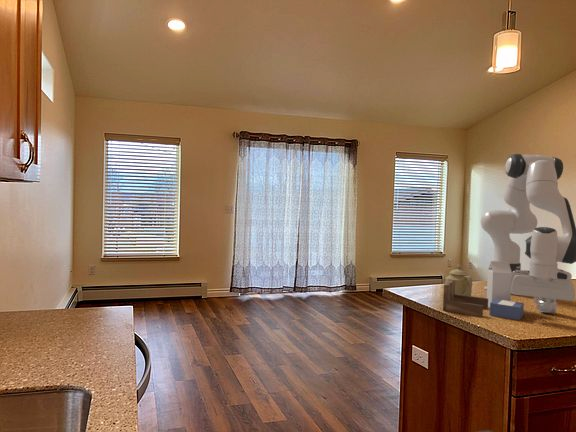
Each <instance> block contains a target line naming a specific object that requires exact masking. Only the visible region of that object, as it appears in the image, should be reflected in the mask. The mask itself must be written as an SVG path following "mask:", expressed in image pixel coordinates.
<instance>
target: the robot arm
mask: <svg viewBox="0 0 576 432" xmlns="http://www.w3.org/2000/svg"><path fill="white" fill-rule="evenodd" d="M504 167H505V168H504V169H505V174H506V175H507V176H508V177H509V179H508V181H507V185H506V187H505V190H504V194H503V200H504V202H505V203H506V204H507V205H509V206H510V207H511V208H510V210H503V209H502V210H500V209H499V210H496V209H495V210H489V211H485V212H484V213H483V215H482V216H481V217H480V226H481V228H482V230H483V231H485V232H486V233H487V234H488V235H489V236H490V238H491V240H492V243H493V247H494V248H493V249H494V253H493V254H494V255H493V256H494V258H493V259H494V260H493V261H501V262H510V264H509V265H510V268H511V271H512V273H511V280H512V284H511V295H517V296H525V297H533V301H534V302H535V304H536V310H538V311H539V310H546V306H547V305H548V303H549V302H550V299H556V300H558V301H567V302H573V301H575V300H576V291H575V285H574V282H573V281H572V277H573V276H572V273H571V272H569V271H566V270H564V269H561V268H558V265H559V264H558V263H564V264H569V265H573V264H574V263H576V222H575V219H574V218H575V217H574V215H573V211H572V208H571V205H570V202H569V199H568V198H567V197H564V196H563V195H562V194H561V192H560V191H559V188H558V186H559V185H558V183H559V182H558V180H559V179H560V178H561V177H562V175H563V172H564V162H563V161H562V159H560V158H558V157H555V156H548V155H541V154H521V153H514V154H511V155H510V156H509V157H507V160H506V162H505V165H504ZM530 205H532V206H534V207H535V208H538V209H540V210H543V211H547V212H549V213H552V214H553V215H555V216H556V217H558V218H559V221H560V224H561V228H562V233H563V236H562V235H561V236H559V235H558V231H557V230H556V229H555V228H553V227H547V226H539V227H538V218H537V216H536V215H535V214H534V213H533V212H532V210H531V207H530ZM528 233H532V234H531V236H529V237H527V238H526V240H524V241H525V252H524V254H525V256H527V257H528V258H529V259H530V260H529V270H525V269H524V270H523V269H522V270H521V268H522V265H521V247H520V244H518V243H517V242H515V241H513V240H512V239H511V236H510V234H512V235H513V234H515V235H516V234H517V235H518V234H520V235H521V234H528ZM483 289H484V290H487V285H485V286H484V287H483ZM539 297H541V298H546V300H545V301H547V302H546V303H545V304H544V305H543V304H539V303H538V301H539Z"/></svg>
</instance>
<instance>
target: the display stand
mask: <svg viewBox="0 0 576 432" xmlns="http://www.w3.org/2000/svg"><path fill="white" fill-rule="evenodd" d="M445 283H446V282H445ZM442 298H443V301H442V311H444V312H449V313H456V314H457V313H458V314H461V315H462V314H463V315H469V316H470V315H471V316H476V317H477V316H478V317H483V315H484V313H483V312H484V309H485V308H487V310H488V309H489V307H488V298H487V297H481V296H480V297H479V296H472V295H471V296H466V295H458V294H455V280H451V281H449V282H448V283H446V284H444V285H443V297H442Z"/></svg>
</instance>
